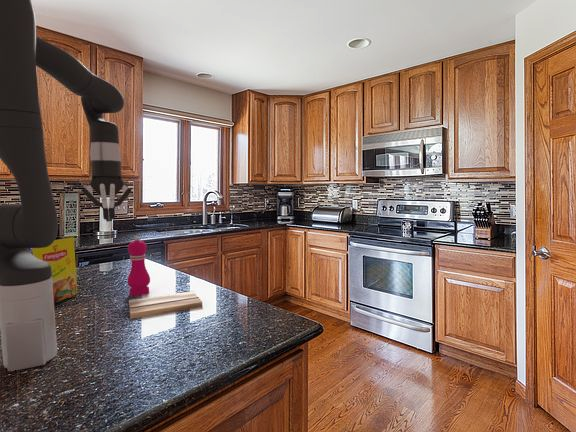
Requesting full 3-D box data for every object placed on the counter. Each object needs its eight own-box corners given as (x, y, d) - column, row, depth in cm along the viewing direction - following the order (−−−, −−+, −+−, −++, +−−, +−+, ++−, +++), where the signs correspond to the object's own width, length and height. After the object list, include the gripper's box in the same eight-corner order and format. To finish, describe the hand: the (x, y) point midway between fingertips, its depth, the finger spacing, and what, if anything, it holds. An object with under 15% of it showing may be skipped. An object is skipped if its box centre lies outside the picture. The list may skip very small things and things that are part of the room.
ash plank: (197, 301, 109) (197, 297, 109) (130, 312, 100) (130, 307, 100) (193, 295, 115) (192, 291, 115) (129, 305, 106) (128, 300, 106)
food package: (38, 309, 103) (33, 244, 102) (35, 309, 104) (30, 244, 102) (78, 294, 118) (75, 237, 117) (75, 293, 119) (72, 236, 117)
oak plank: (202, 306, 104) (202, 301, 104) (130, 318, 95) (130, 312, 95) (198, 301, 109) (198, 296, 109) (129, 313, 100) (129, 307, 99)
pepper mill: (123, 294, 117) (120, 237, 115) (141, 289, 123) (138, 234, 122) (137, 297, 114) (134, 238, 112) (155, 291, 120) (152, 235, 118)
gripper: (77, 158, 90) (81, 223, 91) (132, 159, 96) (135, 221, 97) (79, 160, 96) (83, 221, 98) (131, 161, 103) (133, 219, 104)
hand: (109, 221), depth 98 cm, fingers closed
